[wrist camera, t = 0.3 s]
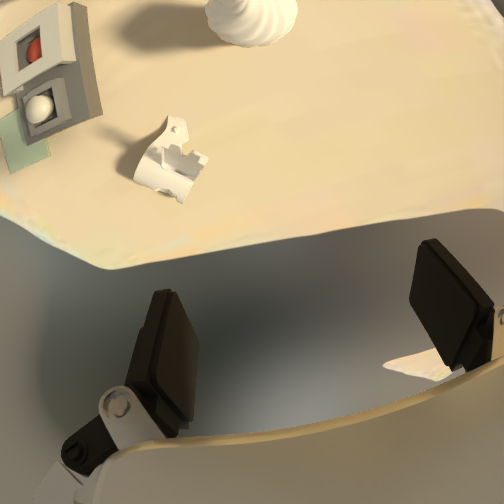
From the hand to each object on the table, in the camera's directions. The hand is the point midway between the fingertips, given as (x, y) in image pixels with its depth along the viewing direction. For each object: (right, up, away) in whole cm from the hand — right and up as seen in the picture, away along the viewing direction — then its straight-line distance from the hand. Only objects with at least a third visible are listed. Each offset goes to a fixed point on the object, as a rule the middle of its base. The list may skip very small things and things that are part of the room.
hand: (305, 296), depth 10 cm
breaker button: (-30, +29, +14) cm, 44 cm away
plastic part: (-12, +15, +27) cm, 33 cm away
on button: (-29, +20, +16) cm, 38 cm away
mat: (-39, +20, +22) cm, 49 cm away
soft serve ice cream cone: (-3, +29, +18) cm, 35 cm away
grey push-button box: (-30, +27, +18) cm, 44 cm away
